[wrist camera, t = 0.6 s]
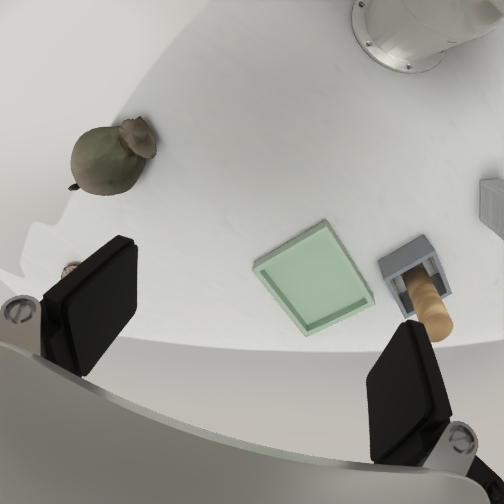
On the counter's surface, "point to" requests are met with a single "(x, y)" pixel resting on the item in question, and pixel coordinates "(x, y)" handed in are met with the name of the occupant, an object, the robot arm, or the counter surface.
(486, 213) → the skincare box
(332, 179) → the counter surface
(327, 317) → the tray
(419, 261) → the open box
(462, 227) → the counter surface
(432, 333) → the dowel
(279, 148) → the counter surface
